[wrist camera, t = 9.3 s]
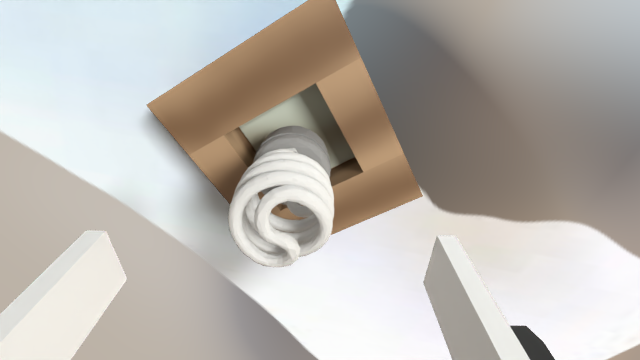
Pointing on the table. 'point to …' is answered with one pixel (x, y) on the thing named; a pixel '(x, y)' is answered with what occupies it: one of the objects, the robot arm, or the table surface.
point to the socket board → (293, 113)
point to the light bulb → (284, 199)
